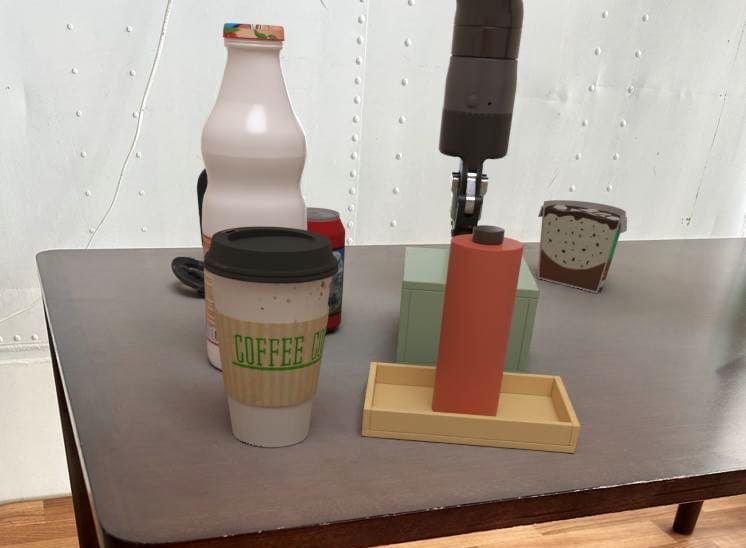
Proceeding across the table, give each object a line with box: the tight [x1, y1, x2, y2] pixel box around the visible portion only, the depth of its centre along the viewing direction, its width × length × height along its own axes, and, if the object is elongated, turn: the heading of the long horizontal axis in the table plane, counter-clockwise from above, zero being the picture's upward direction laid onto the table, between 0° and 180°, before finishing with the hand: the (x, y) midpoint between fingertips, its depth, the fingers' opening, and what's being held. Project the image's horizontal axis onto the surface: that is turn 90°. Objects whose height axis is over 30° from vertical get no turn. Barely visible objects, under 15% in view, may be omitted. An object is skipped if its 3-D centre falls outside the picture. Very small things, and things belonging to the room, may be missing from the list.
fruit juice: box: [200, 22, 308, 371], centre depth 73 cm, size 9×9×28 cm
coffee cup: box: [202, 226, 339, 448], centre depth 62 cm, size 10×10×15 cm
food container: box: [536, 199, 628, 294], centre depth 110 cm, size 12×6×10 cm, turn 46°
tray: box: [361, 361, 581, 454], centre depth 70 cm, size 17×11×2 cm, turn 85°
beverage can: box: [306, 206, 346, 333], centre depth 87 cm, size 7×7×12 cm
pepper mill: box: [432, 224, 525, 417], centre depth 67 cm, size 6×6×15 cm
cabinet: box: [395, 246, 541, 374], centre depth 84 cm, size 15×13×9 cm
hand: (458, 272), depth 96 cm, fingers closed
